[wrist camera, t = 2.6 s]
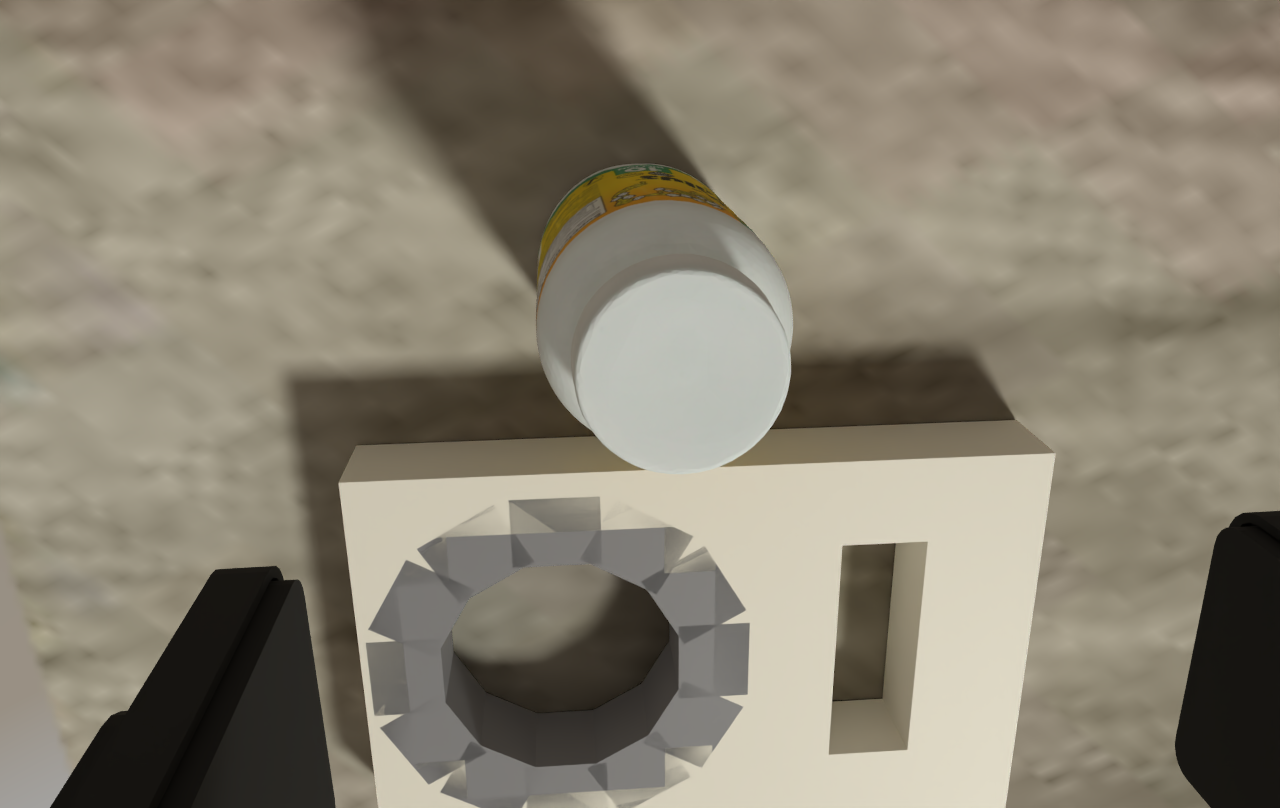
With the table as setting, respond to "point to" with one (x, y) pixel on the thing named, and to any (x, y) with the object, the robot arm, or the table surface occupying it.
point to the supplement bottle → (662, 319)
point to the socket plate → (707, 617)
